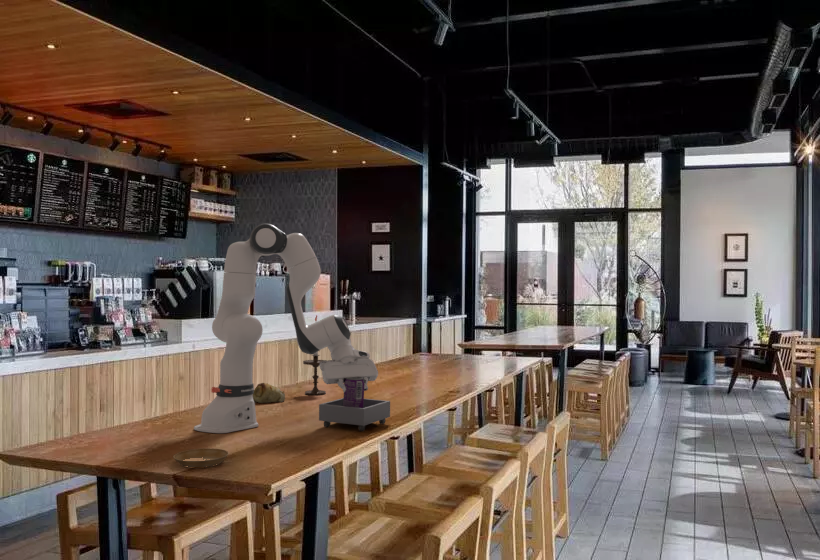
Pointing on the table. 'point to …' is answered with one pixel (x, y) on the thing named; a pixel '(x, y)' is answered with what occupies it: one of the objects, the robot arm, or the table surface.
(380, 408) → the parts cart
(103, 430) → the table surface
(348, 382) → the beverage can
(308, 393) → the candlestick
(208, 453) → the plant saucer
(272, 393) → the olive green rounded lump
